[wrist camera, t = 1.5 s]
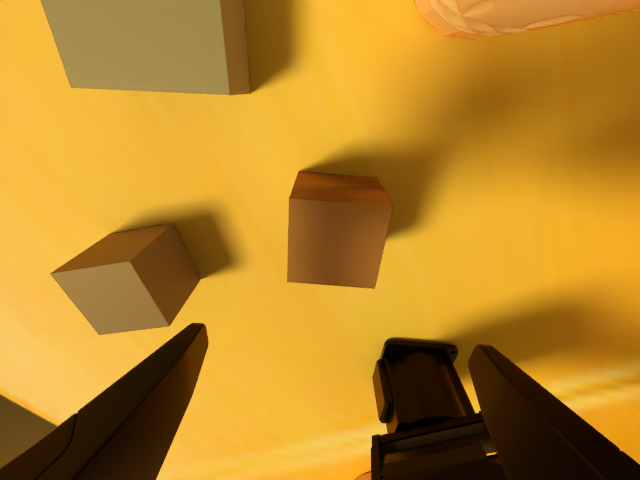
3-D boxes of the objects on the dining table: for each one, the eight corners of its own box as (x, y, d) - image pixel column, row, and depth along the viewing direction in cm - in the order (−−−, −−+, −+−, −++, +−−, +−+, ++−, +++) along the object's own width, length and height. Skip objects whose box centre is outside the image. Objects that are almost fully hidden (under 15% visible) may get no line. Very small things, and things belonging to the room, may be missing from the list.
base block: (238, -85, 12) (203, -154, 9) (251, 93, 16) (229, 95, 12) (81, -92, 12) (-17, -164, 9) (128, 87, 16) (70, 87, 12)
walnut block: (376, 177, 18) (392, 206, 13) (364, 244, 20) (374, 288, 16) (298, 171, 18) (289, 198, 13) (296, 239, 20) (287, 281, 16)
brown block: (173, 222, 20) (129, 261, 15) (201, 278, 22) (169, 326, 18) (110, 233, 20) (49, 273, 16) (143, 286, 22) (99, 334, 18)
